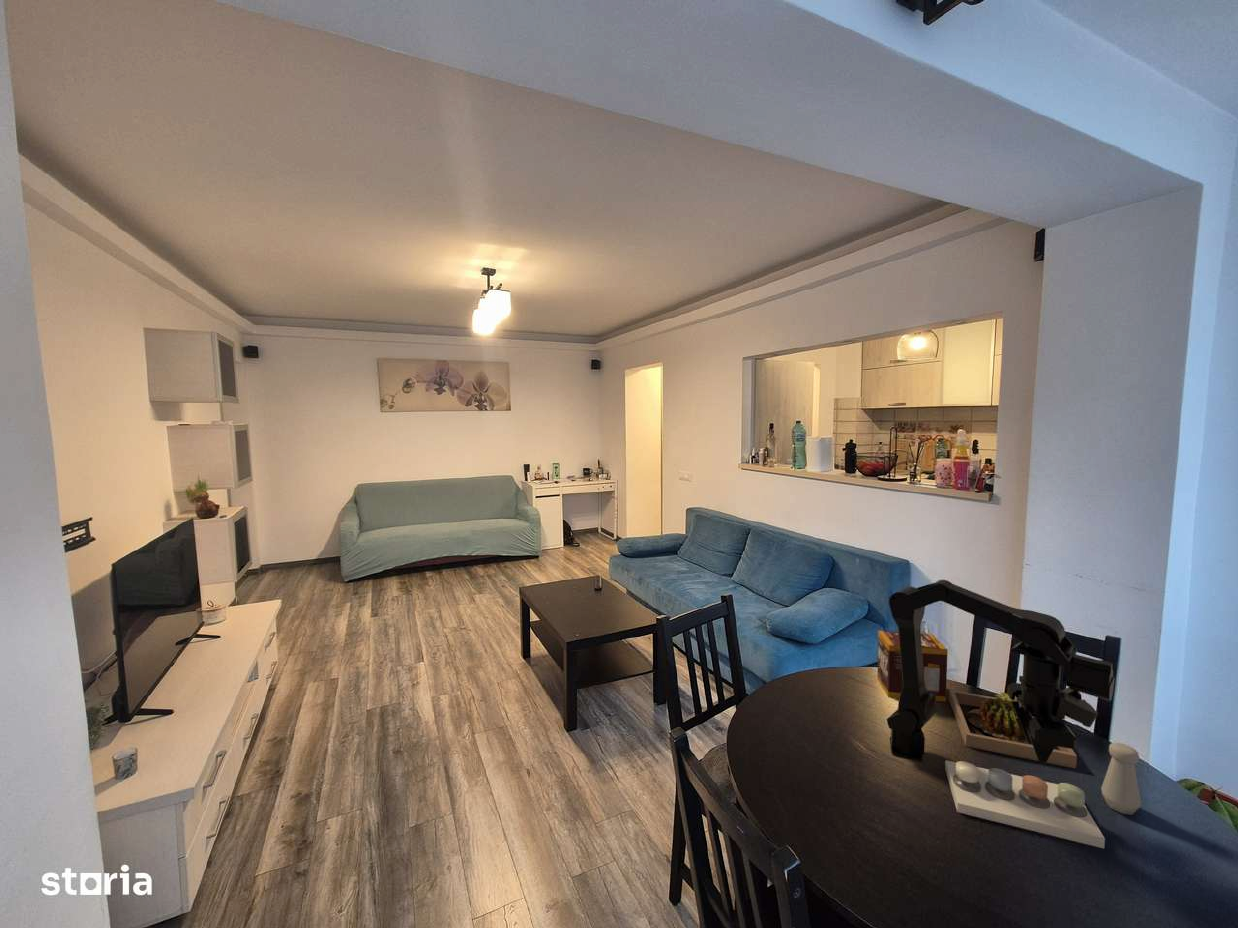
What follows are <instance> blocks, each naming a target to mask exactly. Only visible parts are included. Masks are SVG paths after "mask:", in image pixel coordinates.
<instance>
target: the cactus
mask: <svg viewBox="0 0 1238 928" xmlns="http://www.w3.org/2000/svg"><path fill="white" fill-rule="evenodd" d="M989 697H990V698H989V699H988V700H987V699H986V701H982V702H983V704H981V705H979V706H980V707H979V708H976V709H975V708H974V709H972V710H970V711H968V712H966V719H967V720H968V722H969V723H971V725H973V726H975V727H976V728H978V729H981V730H982V732H984V733H987V734H989V735H991V736H993V737H994V738H998V739H1003V740H1008V741H1013V742H1019V743H1024V744H1029V743H1028V741H1027V739H1026V736H1025V734H1024V731H1023V729H1022V726H1021V724H1020V722H1019V719H1018V717H1017V714H1016V712H1015V710H1014V707H1013V705H1012V703H1011V702H1012V701H1016V696H1015V699H1014V700H1011V699H1010V697H1009V696H1008V694H1007V692H1002V691H1001V692H1000V693H998V692H996V694H995V696H994V697H995V698H994V699H993V698H991V697H992V696H989ZM1029 745H1032V744H1029Z"/></svg>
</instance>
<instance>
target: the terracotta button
mask: <svg viewBox="0 0 1238 928" xmlns="http://www.w3.org/2000/svg"><path fill="white" fill-rule="evenodd" d="M1022 777H1023V780H1022V789H1023V790H1024V791H1025V792H1026V793H1027V794H1029V795H1031V796H1033V797H1035V798H1040V799H1045V798H1047V794H1048V785H1047V784H1046V783H1045V782H1046V781H1044V780H1042V779H1041V778H1040V777H1038V776H1033V775H1028V774H1026V775H1023V776H1022Z"/></svg>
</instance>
